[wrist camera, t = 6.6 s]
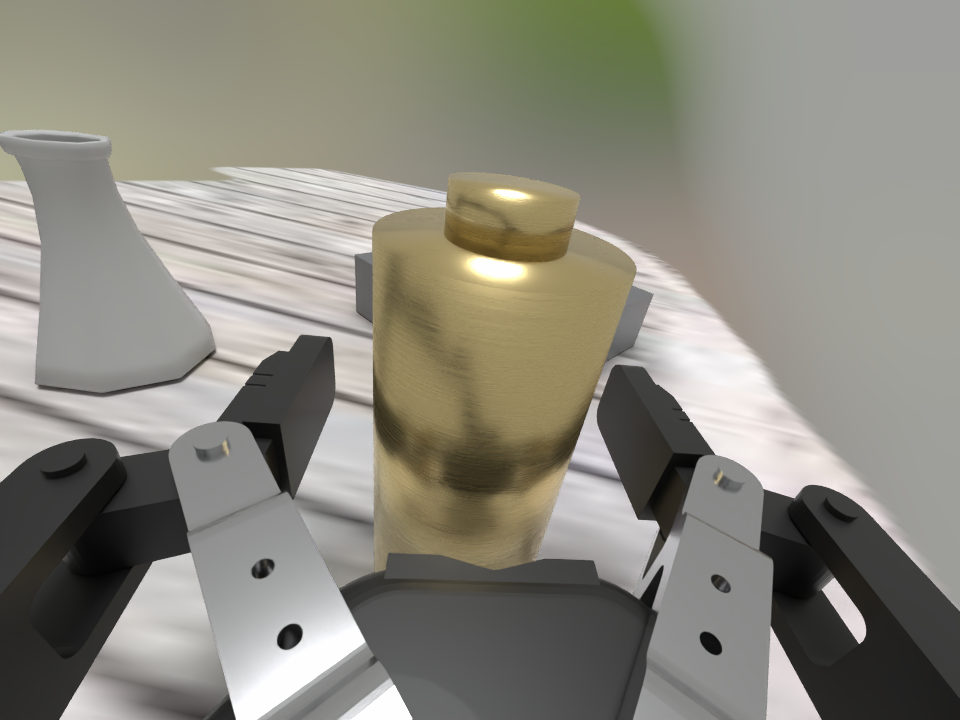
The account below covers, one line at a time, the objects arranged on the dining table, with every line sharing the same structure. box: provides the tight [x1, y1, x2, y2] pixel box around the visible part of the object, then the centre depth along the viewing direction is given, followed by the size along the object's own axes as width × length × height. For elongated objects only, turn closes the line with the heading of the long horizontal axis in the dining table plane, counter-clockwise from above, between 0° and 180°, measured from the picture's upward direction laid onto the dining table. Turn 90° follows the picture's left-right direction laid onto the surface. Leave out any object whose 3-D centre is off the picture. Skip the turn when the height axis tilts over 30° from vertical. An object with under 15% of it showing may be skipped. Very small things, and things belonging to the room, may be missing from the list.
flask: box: [0, 129, 216, 393], centre depth 18 cm, size 7×7×10 cm
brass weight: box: [372, 172, 636, 572], centre depth 11 cm, size 5×5×12 cm
